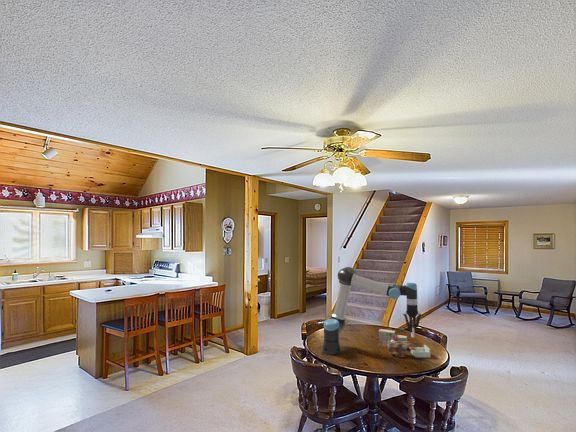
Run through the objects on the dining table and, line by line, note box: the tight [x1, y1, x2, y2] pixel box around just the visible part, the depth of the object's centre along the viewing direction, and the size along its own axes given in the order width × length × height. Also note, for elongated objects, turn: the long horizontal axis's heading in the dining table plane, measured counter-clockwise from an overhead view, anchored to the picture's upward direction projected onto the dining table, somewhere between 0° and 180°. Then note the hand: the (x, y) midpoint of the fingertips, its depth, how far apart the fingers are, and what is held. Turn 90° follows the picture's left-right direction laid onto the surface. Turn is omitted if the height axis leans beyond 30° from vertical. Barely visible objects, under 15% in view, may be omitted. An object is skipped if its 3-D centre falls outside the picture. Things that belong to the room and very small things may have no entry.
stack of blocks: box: [378, 328, 408, 351], centre depth 269 cm, size 21×6×12 cm, turn 63°
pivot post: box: [392, 345, 405, 358], centre depth 251 cm, size 6×8×8 cm
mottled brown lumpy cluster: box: [386, 340, 416, 353], centre depth 248 cm, size 18×11×7 cm, turn 89°
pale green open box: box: [410, 344, 431, 359], centre depth 250 cm, size 11×10×6 cm
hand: (412, 336), depth 245 cm, fingers closed
